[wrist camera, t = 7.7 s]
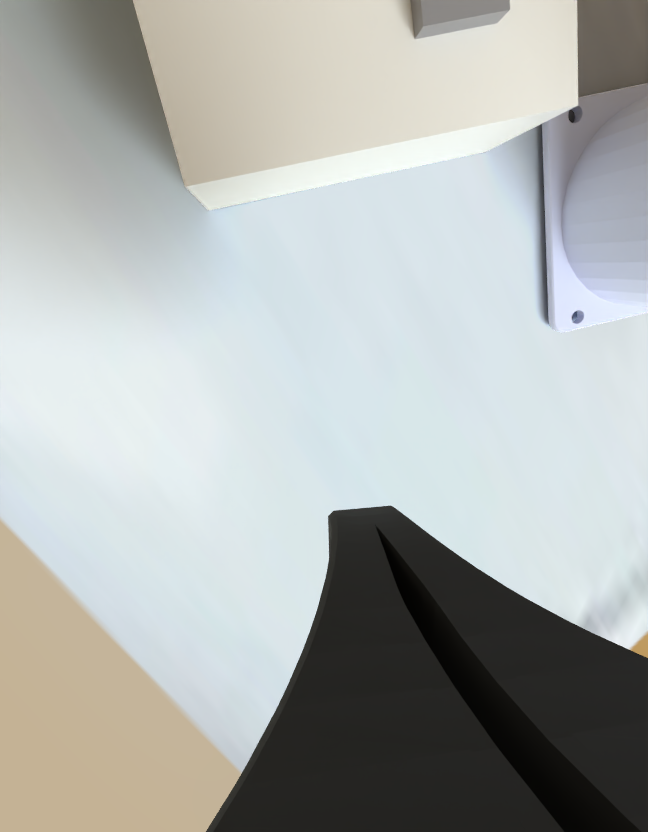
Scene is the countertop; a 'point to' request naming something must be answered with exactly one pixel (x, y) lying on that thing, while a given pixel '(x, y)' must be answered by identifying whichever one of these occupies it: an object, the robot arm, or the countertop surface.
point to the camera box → (349, 85)
